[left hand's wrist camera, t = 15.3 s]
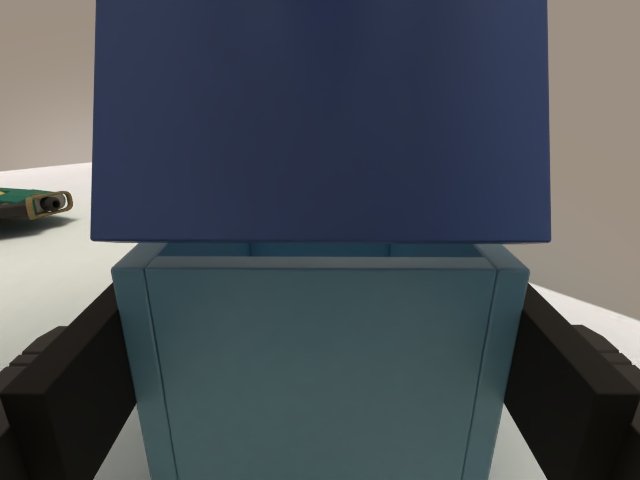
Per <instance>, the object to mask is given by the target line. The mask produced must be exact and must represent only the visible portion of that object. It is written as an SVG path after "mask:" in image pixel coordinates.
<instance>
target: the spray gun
mask: <svg viewBox="0 0 640 480" xmlns="http://www.w3.org/2000/svg"><path fill="white" fill-rule="evenodd" d="M63 194H65V195H66V197H67V202H68V205H67V207H66V208H64V209H61V208H63V206H64V205H65V197H64V195H63ZM72 206H73V201H72V196H71V194H70V193H69V192H67V191H59V192H50V191H42V190H26V189H11V188H0V219H4V218H16V217H27V216H28V217H29V219H30V220H33V219H36V218H39V217H44V216H48V215H52V214H56V213H60V212H65V211H68V210H70V209H71V208H72ZM58 209H60V210H58ZM47 211H51V212H47Z"/></svg>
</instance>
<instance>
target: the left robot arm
mask: <svg viewBox="0 0 640 480" xmlns="http://www.w3.org/2000/svg"><path fill="white" fill-rule="evenodd" d="M504 404H505V406H506V408H507V409H508V411H509V413H510V415H511V416H512V418H513V420H514V422H515V423H516V425H517V427H518V429H519V430H520V432H521V434H522V436H523V437H524V439H525V441H526V443H527V444H528V446H529V448H530V450H531V451H532V453H533V455H534V457H535V459H536V460H537V462H538V464H539V466H540V467H541V469H542V471H543V473H544V474H545V476H546V478H547V480H640V369H639V368H638V367H636V366H635V365H632V362H631V361H630V360H629V359H628V358H627V357H625V356H624V355H623V354H622V353H619V350H618V349H617V348H615V347H614V346H613V345H612V344H611V343H610V342H609V341H608V340H607V339H606V338H604V337H603V336H601V335H600V334H598V333H596V332H594V331H592V330H591V329H589V328H587V327H585V326H583V325H571V324H570V323H569V322H568V321H567V320H566V319H565V318H564V317H563V316H562V315H561V314H560V313H559V312H557V311H556V310H555V309H554V308H553V307H552V306H551V305H550V304H549V303H548V302H547V301H546V300H545V299H544V298H543V297H542V296H541V295H540V294H539V293H538V292H537V291H536V290H535V289H534V288H533V287H532V286H531V285H530V284H529V283H528V285H527V290H526V295H525V300H524V305H523V309H522V314H521V319H520V324H519V329H518V334H517V339H516V344H515V349H514V354H513V359H512V364H511V369H510V374H509V378H508V383H507V388H506V393H505V398H504ZM135 405H136V397H135V392H134V387H133V382H132V377H131V372H130V367H129V362H128V357H127V352H126V347H125V341H124V336H123V331H122V326H121V321H120V316H119V310H118V305H117V300H116V295H115V290H114V285H113V283H112V284H111V285H110V286H109V287H108V288H107V289H106V290H105V291H104V292H102V293H101V294H100V295H99V296H98V297H97V298H96V299H95V300H94V301H93V302H92V303H91V304H90V305H89V306H88V307H87V308H86V309H85V310H84V311H83V312H82V313H81V314H80V315H79V316H78V317H77V318H76V319H75V320H74V321H73V322H72V323H71V324H70V325H69V326H58V327H56V328H55V329H53V330H51V331H49V332H47V333H46V334H44V335H42V336H40V337H38V338H37V339H36V340H35V341H34V342H33V343H32V344H30V345H29V346H28V347H27V348H26V349H25V350H24V351H23V352H22V355H18V356H17V357H16V358H15V359H14V360H13V361H12V362H11V363H10V365H9V367H5V368H4V369H3V370H2V371H1V372H0V480H93V479H94V477H95V475H96V473H97V472H98V470H99V468H100V466H101V465H102V463H103V461H104V459H105V458H106V456H107V454H108V452H109V451H110V449H111V447H112V445H113V443H114V442H115V440H116V438H117V436H118V435H119V433H120V431H121V429H122V428H123V426H124V424H125V422H126V421H127V419H128V417H129V415H130V414H131V412H132V410H133V408H134V407H135Z"/></svg>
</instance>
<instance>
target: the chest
mask: <svg viewBox="0 0 640 480" xmlns="http://www.w3.org/2000/svg"><path fill="white" fill-rule="evenodd" d="M111 274H112V279H113V285H114V290H115V295H116V300H117V305H118V310H119V316H120V321H121V326H122V331H123V336H124V341H125V347H126V352H127V357H128V362H129V367H130V372H131V377H132V382H133V387H134V392H135V397H136V404H137V409H138V414H139V419H140V424H141V429H142V435H143V440H144V445H145V450H146V455H147V460H148V466H149V471H150V476H151V480H488V477H489V472H490V467H491V462H492V457H493V452H494V447H495V442H496V438H497V433H498V428H499V423H500V418H501V413H502V408H503V403H504V398H505V393H506V388H507V383H508V378H509V374H510V369H511V364H512V359H513V354H514V349H515V344H516V339H517V334H518V329H519V324H520V319H521V314H522V309H523V305H524V300H525V295H526V290H527V285H528V280H529V275H530V271H529V269H528V268H527V267H526V266H525V265H524V264H523V263H522V262H521V261H519V260H518V259H517V258H516V257H515V256H514V255H513V254H512V253H511V252H510V251H509V250H508V249H506V248H505V247H504V246H503V245H502V244H332V243H138V244H137V245H136V246H135V247H134V248H133V249H132V250H131V251H130V252H128V253H127V254H126V255H125V256H124V257H123V258H122V259H121V260H120V261H119V262H118V263H116V264H115V265H114V266H113V267H112V268H111Z"/></svg>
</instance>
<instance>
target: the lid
mask: <svg viewBox="0 0 640 480" xmlns="http://www.w3.org/2000/svg"><path fill="white" fill-rule="evenodd" d="M90 238H91V240H92V241H99V242H114V243H332V244H536V243H549V242H550V241H551V203H550V142H549V83H548V23H547V0H96V25H95V66H94V109H93V150H92V192H91V234H90Z"/></svg>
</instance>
